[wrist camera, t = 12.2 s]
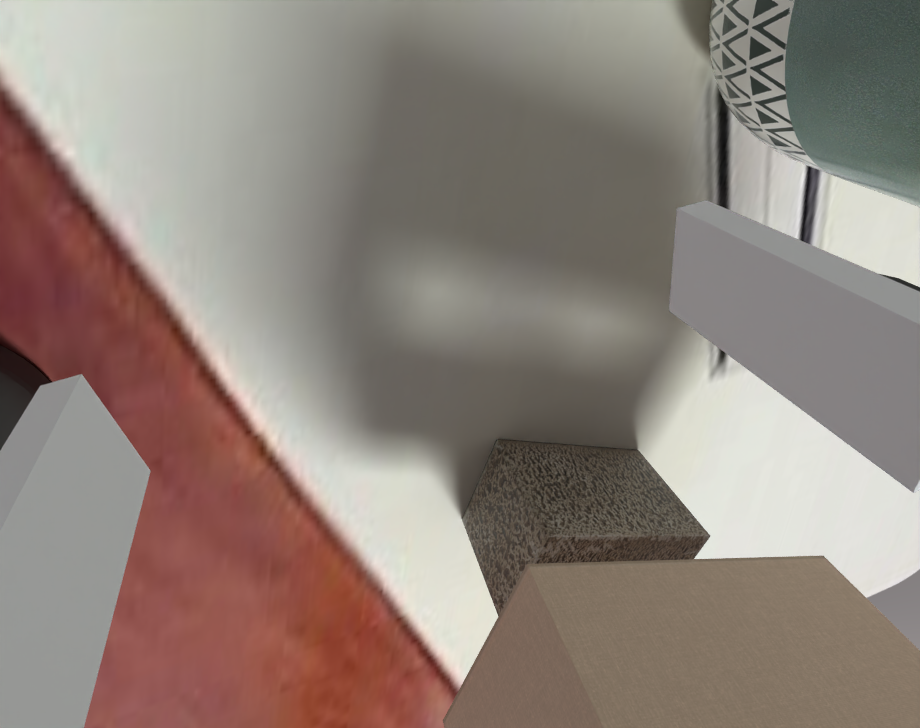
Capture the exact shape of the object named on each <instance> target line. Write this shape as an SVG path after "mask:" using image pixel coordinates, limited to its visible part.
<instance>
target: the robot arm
mask: <svg viewBox="0 0 920 728" xmlns="http://www.w3.org/2000/svg"><path fill="white" fill-rule="evenodd" d="M669 311H670V312H671V313H673V314H674V315H675V316H677V317H678V318H679V319H681V320H682V321H683V322H685V323H686V324H687V325H689V326H690V327H691V328H693V329H694V330H695V331H697V332H698V333H700V334H701V335H702V336H704V337H705V338H706V339H708V340H709V341H710V342H712V343H713V344H714V345H716V346H717V347H718V348H720V349H721V350H722V351H724V352H725V353H726V354H728V355H729V356H730V357H732V358H733V359H734V360H736V361H737V362H738V363H740V364H741V365H742V366H744V367H745V368H747V369H748V370H749V371H751V372H752V373H753V374H755V375H756V376H757V377H759V378H760V379H761V380H763V381H764V382H765V383H767V384H768V385H769V386H771V387H772V388H773V389H775V390H776V391H777V392H779V393H780V394H781V395H783V396H784V397H785V398H787V399H788V400H789V401H791V402H792V403H793V404H795V405H796V406H798V407H799V408H800V409H802V410H803V411H804V412H806V413H807V414H808V415H810V416H811V417H812V418H814V419H815V420H816V421H818V422H819V423H820V424H822V425H823V426H824V427H826V428H827V429H828V430H830V431H831V432H832V433H834V434H835V435H836V436H838V437H839V438H840V439H842V440H843V441H845V442H846V443H847V444H849V445H850V446H851V447H853V448H854V449H855V450H857V451H858V452H859V453H861V454H862V455H863V456H865V457H866V458H867V459H869V460H870V461H871V462H873V463H874V464H875V465H877V466H878V467H879V468H881V469H882V470H883V471H885V472H886V473H887V474H889V475H890V476H892V477H893V478H894V479H896V480H897V481H898V482H900V483H901V484H902V485H904V486H905V487H906V488H908V489H909V490H910V491H912V492H913V493H914V492H916V491H919V490H920V287H918V286H915V285H913V284H911V283H908V282H906V281H903V280H901V279H899V278H895V277H890V276H886V275H881V274H877V273H875V272H873V271H870V270H868V269H866V268H863V267H861V266H859V265H856V264H854V263H852V262H849V261H847V260H845V259H842V258H840V257H838V256H835V255H833V254H831V253H828V252H826V251H824V250H821V249H819V248H817V247H814V246H812V245H810V244H807V243H805V242H803V241H800V240H798V239H796V238H793V237H791V236H789V235H786V234H784V233H782V232H779V231H777V230H775V229H772V228H770V227H768V226H765V225H763V224H761V223H758V222H756V221H754V220H751V219H749V218H747V217H744V216H742V215H740V214H737V213H735V212H733V211H730V210H728V209H726V208H723V207H721V206H719V205H716V204H714V203H712V202H709V201H707V200H705V201H701V202H698V203H694V204H690V205H687V206H683V207H680V208H677V214H676V226H675V239H674V252H673V265H672V277H671V290H670V303H669ZM149 475H150V470H149V468H148V467H147V465H146V464H145V462H144V461H143V460H142V458H141V457H140V455H139V454H138V453H137V451H136V450H135V448H134V447H133V446H132V444H131V443H130V441H129V440H128V439H127V437H126V436H125V434H124V433H123V432H122V430H121V429H120V427H119V426H118V424H117V423H116V422H115V420H114V419H113V417H112V416H111V415H110V413H109V412H108V410H107V409H106V408H105V406H104V405H103V403H102V402H101V401H100V399H99V398H98V396H97V395H96V394H95V392H94V391H93V389H92V388H91V386H90V385H89V384H88V382H87V381H86V379H85V378H84V377H83V375H82V374H81V375H77V376H73V377H70V378H66V379H63V380H59V381H55V382H52V383H51V382H50V381H49V380H48V379H47V378H46V377H45V376H44V375H43V374H42V373H41V372H40V371H39V370H38V369H36V368H35V367H34V366H33V365H31V364H30V363H29V362H27V361H26V360H25V359H23V358H22V357H20V356H19V355H17V354H15V353H14V352H12V351H10V350H8V349H7V348H5V347H3V346H1V345H0V728H84V725H85V721H86V717H87V713H88V709H89V705H90V702H91V698H92V694H93V690H94V686H95V682H96V679H97V675H98V671H99V667H100V663H101V659H102V656H103V652H104V648H105V644H106V640H107V636H108V632H109V629H110V625H111V621H112V617H113V613H114V609H115V606H116V602H117V598H118V594H119V590H120V586H121V583H122V579H123V575H124V571H125V567H126V563H127V559H128V556H129V552H130V548H131V544H132V540H133V536H134V533H135V529H136V525H137V521H138V517H139V513H140V509H141V506H142V502H143V498H144V494H145V490H146V486H147V483H148V479H149Z"/></svg>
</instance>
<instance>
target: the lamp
mask: <svg viewBox="0 0 920 728" xmlns="http://www.w3.org/2000/svg"><path fill="white" fill-rule="evenodd" d="M462 521H463V523H464V526H465V529H466V531H467V534H468V537H469V539H470V542H471V545H472V547H473V550H474V553H475V555H476V558H477V561H478V563H479V566H480V569H481V571H482V574H483V576H484V579H485V582H486V584H487V587H488V590H489V592H490V595H491V598H492V600H493V603H494V606H495V608H496V611H497V614H498V616H499V617H498V619H497V621H496V622H495V624H494V626H493V628H492V630H491V632H490V634H489V636H488V637H487V639H486V641H485V643H484V645H483V647H482V649H481V650H480V652H479V654H478V656H477V658H476V660H475V662H474V663H473V665H472V667H471V669H470V671H469V673H468V675H467V677H466V678H465V680H464V682H463V684H462V686H461V688H460V690H459V691H458V693H457V695H456V697H455V699H454V701H453V703H452V704H451V706H450V708H449V710H448V712H447V714H446V716H445V718H444V719H443V723H444V727H445V728H920V651H919V650H918V648H916V647H915V646H914V645H913V644H912V643H911V642H910V641H909V640H908V639H907V638H906V637H905V636H904V635H903V634H902V633H901V632H900V631H899V630H898V629H897V628H896V627H895V626H894V625H893V624H892V623H891V622H890V621H889V620H888V619H887V618H886V617H885V616H884V615H883V614H882V613H881V612H880V611H879V610H878V609H877V608H876V607H875V606H874V605H873V604H871V602H870V601H869V600H868V599H867V598H866V597H865V596H864V595H863V594H862V593H861V592H860V591H859V590H858V589H856V588H855V587H854V586H853V585H852V584H851V583H850V582H849V581H848V580H847V579H846V578H845V577H844V576H843V575H842V574H841V573H840V572H839V571H838V570H837V569H836V568H835V567H834V566H833V565H832V564H831V563H830V562H829V561H828V560H827V559H826V558H825V557H824V556H795V557H759V558H723V559H694V558H695V556H696V555H697V554H698V552H699V551H700V550H701V548H702V547H703V546H704V544H705V543H706V541H707V540H708V539H709V537H710V535H709V534H708V533H707V531H706V530H705V529H704V528H703V527H702V526H701V524H700V523H699V522H698V521H697V520H696V518H695V517H694V516H693V515H692V514H691V512H690V511H689V510H688V509H687V508H686V506H685V505H684V504H683V503H682V502H681V501H680V499H679V498H678V497H677V496H676V495H675V493H674V492H673V491H672V490H671V489H670V487H669V486H668V485H667V484H666V483H665V481H664V480H663V479H662V478H661V477H660V476H659V474H658V473H657V472H656V471H655V470H654V468H653V467H652V466H651V465H650V464H649V462H648V461H647V460H646V459H645V458H644V456H643V455H642V454H641V453H640V452H639V451H638V450H628V449H615V448H602V447H589V446H576V445H564V444H551V443H538V442H525V441H512V440H500V439H497V441H496V443H495V445H494V448H493V450H492V452H491V455H490V457H489V459H488V461H487V464H486V466H485V468H484V471H483V473H482V475H481V478H480V480H479V482H478V484H477V487H476V489H475V491H474V494H473V496H472V498H471V500H470V503H469V505H468V507H467V510H466V512H465V514H464V517H463V519H462Z"/></svg>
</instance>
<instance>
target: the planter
mask: <svg viewBox="0 0 920 728" xmlns="http://www.w3.org/2000/svg"><path fill="white" fill-rule="evenodd" d="M709 40H710V55H711V62H712V67H713V72H714V75H715V79H716V82H717V85H718V87H719V90H720V92H721V95H722V97H723V99H724V101H725V103H726V104H727V106H728V107H729V109H730V110H731V112H732V113H733V114H734V115H735V117H736V118H737V119H738V121H739V122H740V123H741V124H742V125H743V126H744V127H745V128H746V129H747V130H749V131H750V132H751V133H752V134H753V135H754V136H755V137H757V138H758V139H759V140H760V141H762V142H763V143H765V144H766V145H768V146H769V147H770V148H772V149H773V150H775V151H777V152H778V153H780V154H782V155H785V156H787V157H789V158H791V159H793V160H795V161H797V162H800V163H802V164H805V165H807V166H810V167H813V168H815V169H818V170H821V171H823V172H826V173H828V174H831V175H834V176H836V177H839V178H841V179H844V180H847V181H849V182H852V183H854V184H857V185H860V186H863V187H865V188H868V189H871V190H874V191H877V192H879V193H882V194H885V195H888V196H891V197H893V198H896V199H899V200H902V201H904V202H907V203H910V204H912V205H915V206H918V207H920V0H713V2H712V8H711V16H710V29H709Z"/></svg>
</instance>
